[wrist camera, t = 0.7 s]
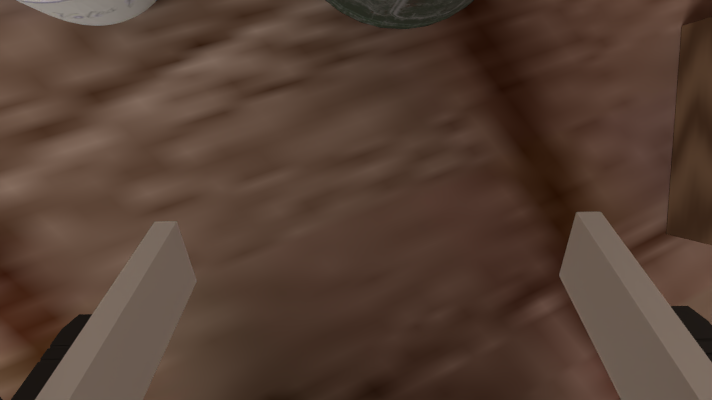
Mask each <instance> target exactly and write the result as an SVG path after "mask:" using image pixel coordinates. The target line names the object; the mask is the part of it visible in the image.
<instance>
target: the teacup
mask: <svg viewBox="0 0 712 400" xmlns="http://www.w3.org/2000/svg"><path fill="white" fill-rule="evenodd" d="M17 1H19V2H21V3H23V4H25V5H28V6H30V7H32V8H34V9H36V10H39V11H41V12H43V13H45V14H48V15H50V16H53V17H56V18H58V19H61V20H65V21H68V22H72V23H77V24H82V25H93V26H101V25H112V24H116V23H121V22H124V21H127V20H129V19H132V18H134V17H136V16H138V15H140V14H141V13H143V12H144V11H146V10H147V9H148V8H150V7H151V6H152V5H153V4H154V3H155V2H156V1H157V0H17Z"/></svg>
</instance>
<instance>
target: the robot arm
mask: <svg viewBox="0 0 712 400" xmlns="http://www.w3.org/2000/svg"><path fill="white" fill-rule="evenodd" d="M559 276H560V278H561V280H562V282H563V284H564V286H565V288H566V290H567V292H568V294H569V296H570V298H571V300H572V302H573V304H574V306H575V308H576V310H577V312H578V314H579V316H580V318H581V320H582V322H583V324H584V326H585V328H586V330H587V332H588V334H589V336H590V338H591V340H592V342H593V344H594V346H595V348H596V350H597V352H598V354H599V356H600V358H601V360H602V362H603V364H604V366H605V368H606V371H607V373H608V375H609V377H610V379H611V381H612V383H613V385H614V387H615V389H616V391H617V393H618V395H619V397H620V399H621V400H712V325H711V324H710V323H709V321H707V320H706V319H705V318H703V317H702V316H701V315H699V314H698V313H697V312H695V311H694V310H693V309H691V308H690V307H689V306H670V305H669V304H668V302H667V301H666V300H665V298H664V297H663V296H662V294H661V293H660V291H659V290H658V289H657V287H656V286H655V285H654V283H653V282H652V281H651V279H650V278H649V276H648V275H647V274H646V272H645V271H644V270H643V268H642V267H641V266H640V264H639V263H638V262H637V260H636V259H635V257H634V256H633V255H632V253H631V252H630V251H629V249H628V248H627V247H626V245H625V244H624V243H623V241H622V240H621V238H620V237H619V236H618V234H617V233H616V232H615V230H614V229H613V228H612V226H611V225H610V223H609V222H608V221H607V219H606V218H605V217H604V215H603V214H602V213H601V212H576V215H575V219H574V222H573V226H572V230H571V233H570V237H569V241H568V244H567V248H566V252H565V255H564V259H563V263H562V266H561V270H560V274H559ZM196 282H197V280H196V277H195V274H194V271H193V268H192V265H191V262H190V259H189V256H188V253H187V250H186V247H185V244H184V241H183V238H182V235H181V232H180V229H179V226H178V223H177V221H167V222H154V223H153V225H152V226H151V228H150V229H149V231H148V232H147V234H146V235H145V237H144V238H143V240H142V241H141V243H140V244H139V246H138V247H137V249H136V250H135V252H134V253H133V255H132V256H131V258H130V259H129V261H128V262H127V264H126V265H125V267H124V268H123V270H122V271H121V272H120V274H119V275H118V277H117V278H116V280H115V281H114V283H113V284H112V286H111V287H110V289H109V290H108V292H107V293H106V295H105V296H104V298H103V299H102V301H101V302H100V304H99V305H98V307H97V308H96V310H95V311H94V313H93V314H87V315H78V316H77V317H76V318H75V319H73V320H72V321H71V322H70V323H69V324H67V325H66V326H65V327H64V328H63V329H62V330H61V331H60V332H59V334H58V335H57V337H56V338H55V339H54V341H53V342H52V344H51V345H50V349H47V350H46V352H45V353H44V355H43V356H42V357H41V361H40V362H38V363H37V364H36V366H35V367H34V369H33V370H32V371H31V373H30V374H29V375H28V377H27V378H26V380H25V381H24V382H23V384H22V385H21V387H20V388H19V389H18V391H17V392H16V394H15V395H14V396H13V398H12V399H11V400H143V398H144V396H145V394H146V392H147V389H148V387H149V385H150V383H151V381H152V378H153V376H154V374H155V372H156V370H157V367H158V365H159V363H160V361H161V359H162V357H163V354H164V352H165V350H166V348H167V346H168V343H169V341H170V339H171V337H172V335H173V332H174V330H175V328H176V326H177V324H178V322H179V319H180V317H181V315H182V313H183V311H184V308H185V306H186V304H187V302H188V300H189V297H190V295H191V293H192V291H193V289H194V286H195V284H196ZM0 400H2V399H1V398H0Z"/></svg>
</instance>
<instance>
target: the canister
mask: <svg viewBox="0 0 712 400" xmlns="http://www.w3.org/2000/svg"><path fill="white" fill-rule="evenodd" d="M326 1H327V2H328V3H330V4H331V5H332V6H333V7H335V8H336V9H337V10H339V11H340V12H342V13H344V14H346V15H348V16H350V17H352V18H354V19H356V20H358V21H360V22H362V23H366V24H370V25H373V26H377V27H381V28H396V29H410V28H416V27H423V26H428V25H431V24H434V23H436V22H439V21H442V20H444V19H447V18H449V17H450V16H452V15H454V14H455V13H457V12H458V11H460V10H462V9H464V8H465V7H466V6H468V5H469V4H470V3H471V2H473V1H474V0H326Z"/></svg>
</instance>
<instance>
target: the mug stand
mask: <svg viewBox="0 0 712 400" xmlns="http://www.w3.org/2000/svg"><path fill="white" fill-rule="evenodd" d="M666 234H669V235H673V236H677V237H681V238H685V239H689V240H693V241H697V242H701V243H705V244H709V245H712V17H709V18H706V19H703V20H699V21H696V22H693V23H690V24H687V25H683V26H682V30H681V43H680V57H679V70H678V84H677V97H676V111H675V124H674V138H673V151H672V165H671V178H670V192H669V205H668V219H667V232H666Z"/></svg>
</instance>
